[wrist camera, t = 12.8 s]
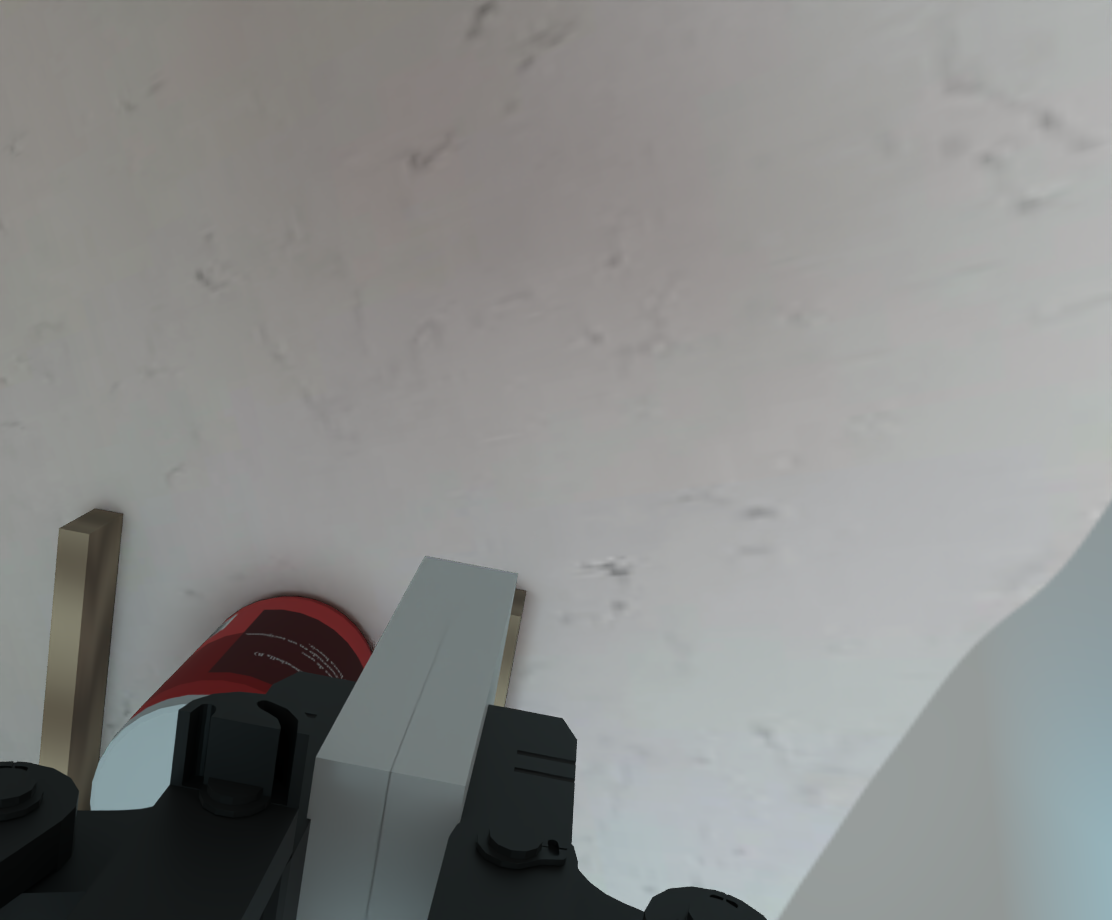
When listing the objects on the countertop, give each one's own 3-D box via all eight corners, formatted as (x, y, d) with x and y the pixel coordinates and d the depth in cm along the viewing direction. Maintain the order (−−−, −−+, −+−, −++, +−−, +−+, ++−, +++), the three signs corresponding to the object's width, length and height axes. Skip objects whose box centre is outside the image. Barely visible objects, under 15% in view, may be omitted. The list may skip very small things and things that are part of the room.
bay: (95, 508, 45) (59, 528, 42) (526, 591, 45) (520, 616, 42) (65, 829, 48) (30, 868, 45) (466, 906, 48) (457, 950, 45)
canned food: (212, 759, 47) (96, 917, 36) (202, 586, 45) (76, 698, 34) (385, 765, 47) (319, 926, 36) (381, 591, 45) (311, 706, 34)
